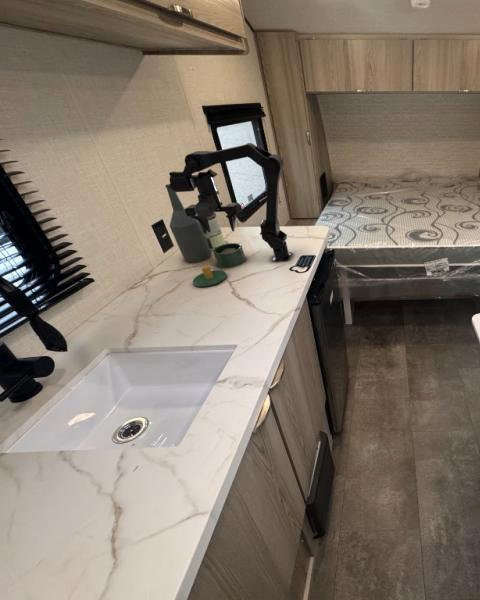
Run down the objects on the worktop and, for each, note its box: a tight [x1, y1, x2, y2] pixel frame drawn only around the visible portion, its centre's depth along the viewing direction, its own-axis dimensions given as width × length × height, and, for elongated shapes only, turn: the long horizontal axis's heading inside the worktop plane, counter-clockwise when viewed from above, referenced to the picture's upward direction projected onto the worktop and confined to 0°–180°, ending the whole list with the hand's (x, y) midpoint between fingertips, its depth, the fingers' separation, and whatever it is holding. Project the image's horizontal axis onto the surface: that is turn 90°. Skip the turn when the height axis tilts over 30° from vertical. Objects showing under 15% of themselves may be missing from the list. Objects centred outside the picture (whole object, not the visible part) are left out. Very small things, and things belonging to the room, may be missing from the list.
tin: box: [212, 242, 246, 268], centre depth 131 cm, size 10×10×6 cm
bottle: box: [165, 183, 212, 264], centre depth 128 cm, size 10×10×30 cm
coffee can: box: [200, 212, 227, 251], centre depth 142 cm, size 10×10×14 cm
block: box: [221, 248, 237, 253], centre depth 131 cm, size 4×4×4 cm
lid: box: [192, 264, 227, 287], centre depth 118 cm, size 11×11×6 cm
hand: (221, 231), depth 125 cm, fingers open, 9 cm apart
